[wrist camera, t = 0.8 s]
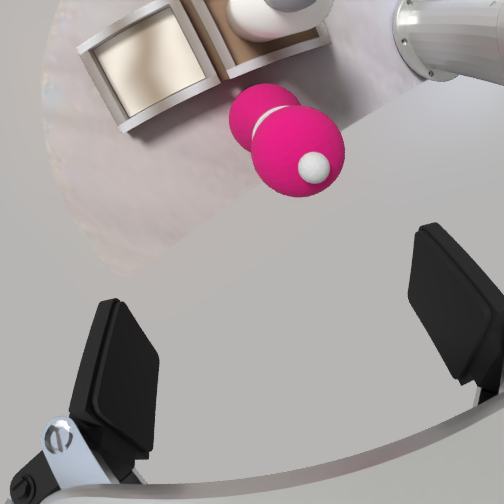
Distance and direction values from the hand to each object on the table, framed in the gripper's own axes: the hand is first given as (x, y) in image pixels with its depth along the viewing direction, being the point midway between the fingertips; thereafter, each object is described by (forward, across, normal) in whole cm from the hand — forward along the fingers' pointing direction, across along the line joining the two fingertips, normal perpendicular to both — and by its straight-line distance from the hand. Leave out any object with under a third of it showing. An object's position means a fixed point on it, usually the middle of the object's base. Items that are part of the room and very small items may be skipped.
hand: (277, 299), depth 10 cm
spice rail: (+28, +1, -10) cm, 30 cm away
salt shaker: (+27, -5, -11) cm, 30 cm away
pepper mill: (+28, -3, 0) cm, 29 cm away
